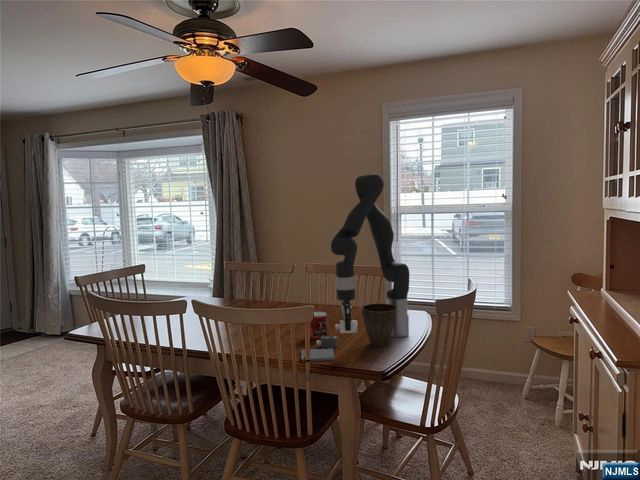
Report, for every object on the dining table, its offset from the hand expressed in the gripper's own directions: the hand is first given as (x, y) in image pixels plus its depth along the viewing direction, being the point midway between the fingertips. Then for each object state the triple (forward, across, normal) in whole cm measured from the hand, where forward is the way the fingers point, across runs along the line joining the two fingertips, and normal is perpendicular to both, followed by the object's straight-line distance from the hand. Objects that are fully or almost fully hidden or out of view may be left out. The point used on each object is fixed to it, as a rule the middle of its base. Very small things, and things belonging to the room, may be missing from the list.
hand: (347, 328), depth 182 cm
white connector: (+1, 0, +1) cm, 1 cm away
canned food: (+11, +23, +12) cm, 28 cm away
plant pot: (+11, +11, -14) cm, 21 cm away
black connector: (+10, +9, +9) cm, 16 cm away
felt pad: (+10, -2, +13) cm, 16 cm away
